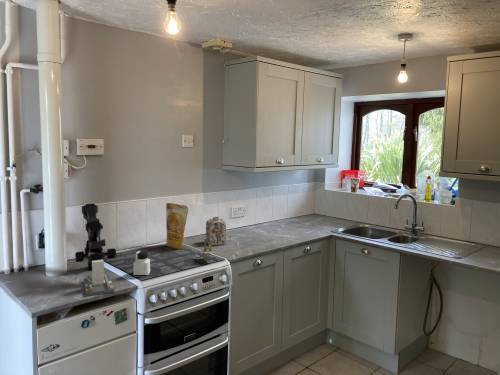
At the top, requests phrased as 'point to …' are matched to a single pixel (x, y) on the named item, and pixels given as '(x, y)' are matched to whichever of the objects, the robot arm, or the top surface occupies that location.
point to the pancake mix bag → (175, 224)
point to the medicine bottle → (141, 263)
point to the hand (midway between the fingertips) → (97, 270)
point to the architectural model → (204, 250)
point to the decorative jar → (216, 231)
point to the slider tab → (98, 272)
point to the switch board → (98, 286)
